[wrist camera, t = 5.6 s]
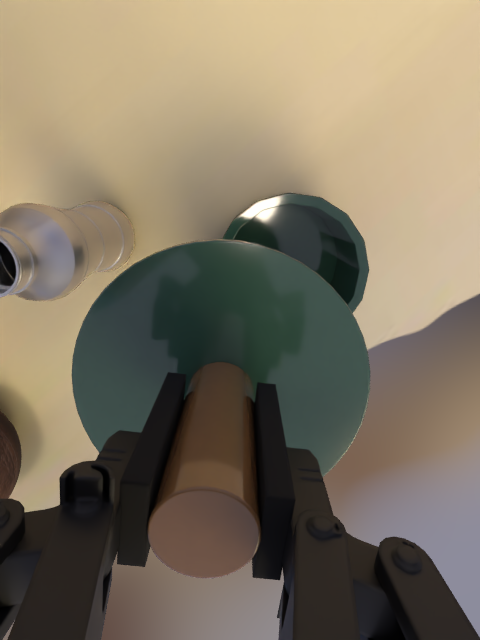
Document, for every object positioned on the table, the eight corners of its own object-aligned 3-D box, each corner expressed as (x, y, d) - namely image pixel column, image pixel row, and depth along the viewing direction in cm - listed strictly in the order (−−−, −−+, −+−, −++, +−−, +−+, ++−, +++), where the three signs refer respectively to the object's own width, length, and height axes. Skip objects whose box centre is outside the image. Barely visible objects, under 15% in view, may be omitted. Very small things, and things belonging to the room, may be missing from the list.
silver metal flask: (122, 190, 39) (3, 179, 20) (151, 254, 41) (68, 300, 22) (65, 215, 40) (-102, 227, 21) (96, 276, 41) (-31, 340, 22)
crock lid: (81, 219, 17) (-98, 239, 8) (392, 257, 17) (550, 317, 8) (81, 481, 21) (-38, 688, 12) (333, 507, 21) (398, 727, 12)
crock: (229, 187, 39) (224, 183, 30) (353, 205, 39) (384, 206, 30) (214, 308, 42) (206, 335, 34) (328, 324, 43) (349, 355, 34)
